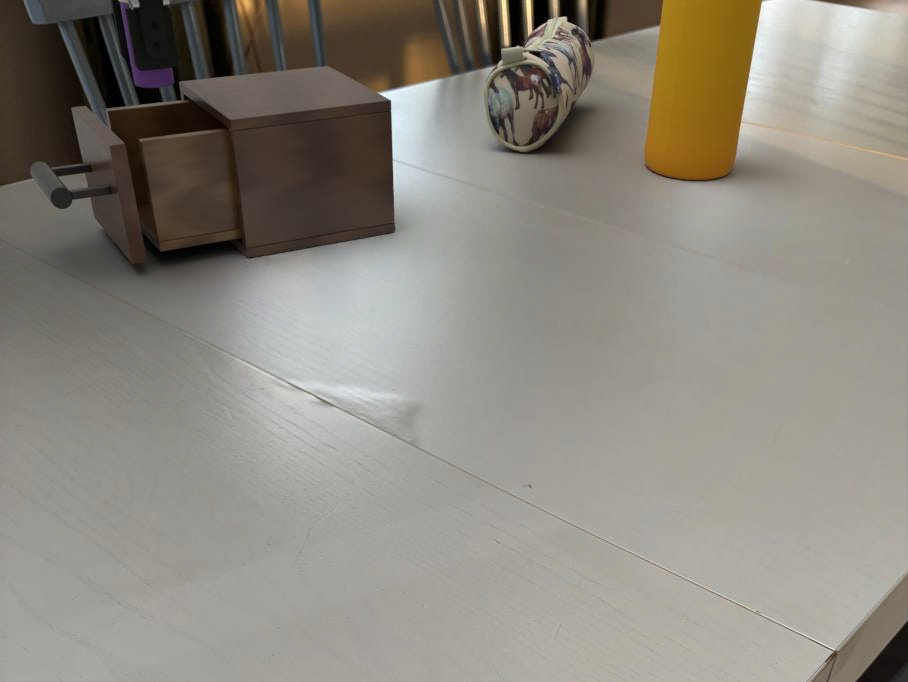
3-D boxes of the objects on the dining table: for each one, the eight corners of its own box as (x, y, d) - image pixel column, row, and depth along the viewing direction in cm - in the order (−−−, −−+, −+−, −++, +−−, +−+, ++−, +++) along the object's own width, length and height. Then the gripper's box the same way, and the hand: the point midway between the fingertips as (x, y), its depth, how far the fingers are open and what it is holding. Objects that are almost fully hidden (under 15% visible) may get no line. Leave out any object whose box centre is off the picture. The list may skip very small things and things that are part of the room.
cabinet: (247, 258, 86) (230, 119, 79) (197, 210, 95) (178, 81, 88) (395, 232, 92) (391, 100, 85) (336, 189, 100) (328, 65, 93)
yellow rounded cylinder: (752, 171, 107) (818, -190, 88) (690, 187, 103) (746, -189, 84) (685, 148, 113) (735, -197, 94) (624, 163, 108) (662, -196, 89)
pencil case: (559, 158, 109) (566, 52, 102) (479, 150, 110) (482, 45, 104) (592, 105, 125) (600, 11, 119) (522, 98, 126) (527, 5, 120)
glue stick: (140, 90, 79) (120, -18, 75) (128, 81, 81) (108, -25, 77) (181, 85, 81) (164, -21, 76) (168, 76, 83) (151, -28, 78)
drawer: (73, 274, 81) (44, 153, 75) (39, 227, 88) (11, 113, 82) (281, 238, 87) (270, 125, 82) (233, 197, 95) (220, 90, 89)
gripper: (10, -257, 72) (73, 45, 84) (69, -250, 61) (131, 94, 73) (119, -255, 75) (165, 36, 87) (193, -249, 64) (234, 82, 76)
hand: (149, 60), depth 80 cm, fingers closed on glue stick, 3 cm apart
